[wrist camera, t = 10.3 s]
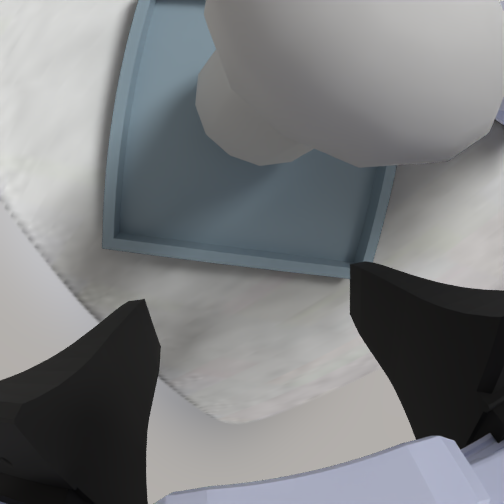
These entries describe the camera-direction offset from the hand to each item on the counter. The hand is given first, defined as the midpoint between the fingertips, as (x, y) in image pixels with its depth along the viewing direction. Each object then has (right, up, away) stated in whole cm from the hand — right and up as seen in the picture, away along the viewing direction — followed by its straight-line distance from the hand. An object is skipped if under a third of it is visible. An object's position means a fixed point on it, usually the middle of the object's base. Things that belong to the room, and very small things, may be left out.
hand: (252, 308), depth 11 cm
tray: (0, +8, +4) cm, 9 cm away
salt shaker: (0, +9, +4) cm, 10 cm away
